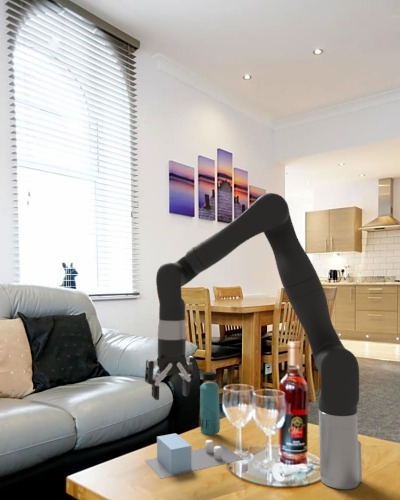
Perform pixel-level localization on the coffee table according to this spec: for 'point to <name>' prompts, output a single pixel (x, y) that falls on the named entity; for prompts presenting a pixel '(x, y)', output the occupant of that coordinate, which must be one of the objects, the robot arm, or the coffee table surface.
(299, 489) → the coffee table surface
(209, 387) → the beverage bottle
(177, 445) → the pale blue upright block
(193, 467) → the stub board
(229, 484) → the coffee table surface
